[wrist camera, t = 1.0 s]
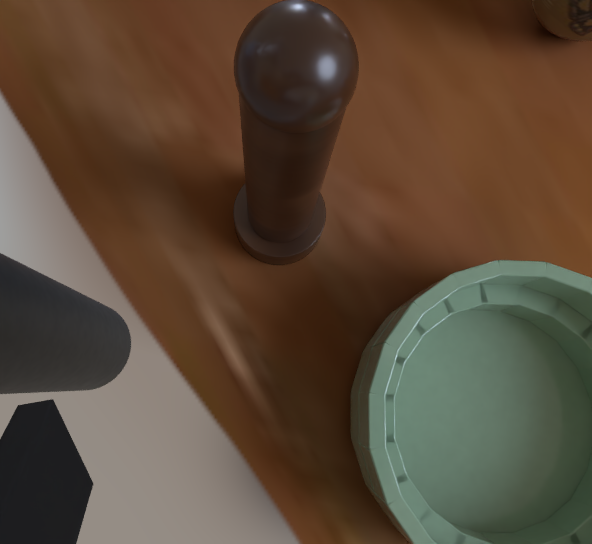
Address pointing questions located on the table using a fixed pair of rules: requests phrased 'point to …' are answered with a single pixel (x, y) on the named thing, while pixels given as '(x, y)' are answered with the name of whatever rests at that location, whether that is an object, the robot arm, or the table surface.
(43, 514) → the robot arm
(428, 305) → the bowl
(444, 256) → the table surface
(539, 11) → the ceramic vessel
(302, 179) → the pestle
